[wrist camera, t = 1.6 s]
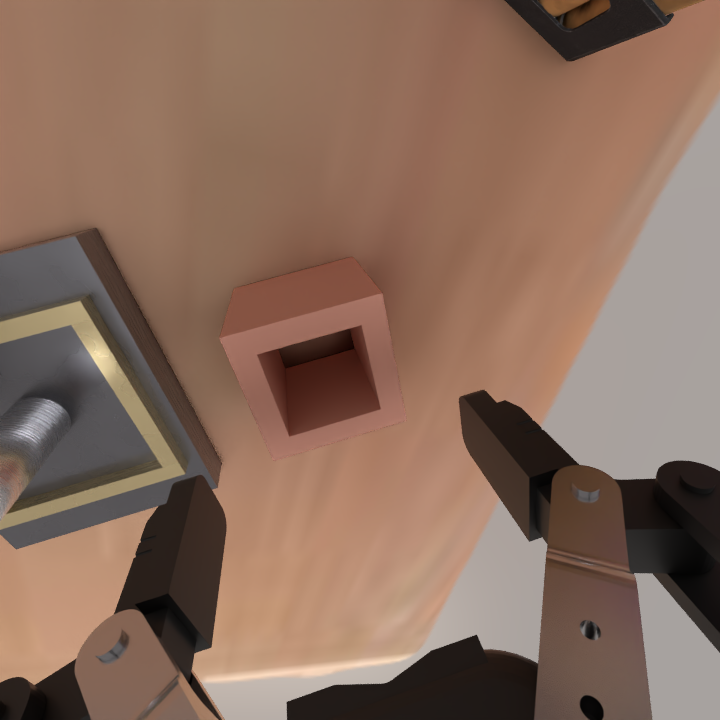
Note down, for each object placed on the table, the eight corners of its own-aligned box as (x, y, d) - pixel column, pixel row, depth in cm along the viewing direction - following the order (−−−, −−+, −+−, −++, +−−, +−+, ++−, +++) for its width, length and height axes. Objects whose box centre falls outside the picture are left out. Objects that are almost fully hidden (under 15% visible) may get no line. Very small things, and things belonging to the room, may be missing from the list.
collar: (234, 288, 19) (219, 338, 14) (352, 256, 19) (382, 292, 14) (273, 388, 22) (273, 461, 16) (375, 358, 22) (406, 420, 17)
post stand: (-178, 296, 16) (-626, 433, 8) (96, 228, 16) (-64, 290, 9) (35, 519, 23) (-91, 711, 15) (221, 463, 23) (196, 617, 15)
